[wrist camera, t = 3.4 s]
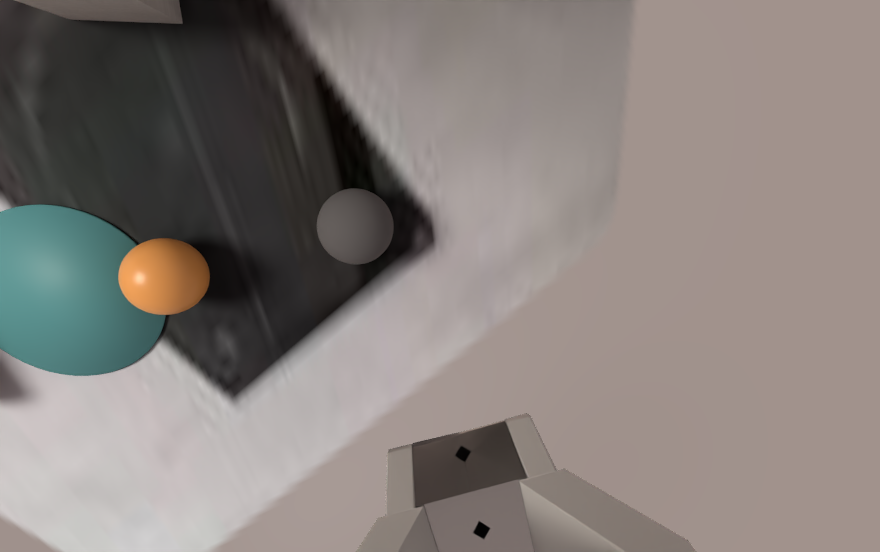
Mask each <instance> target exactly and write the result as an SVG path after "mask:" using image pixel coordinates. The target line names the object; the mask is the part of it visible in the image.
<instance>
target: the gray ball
mask: <svg viewBox="0 0 880 552" xmlns="http://www.w3.org/2000/svg"><path fill="white" fill-rule="evenodd" d="M393 229H394V225H393V218H392V215H391V212H390V210H389V208H388V207H387V205H386V204H385V203H384V201H383V200H382V199H380V198H379V197H378V196H377V195H375V194H374V193H372V192H369V191H367V190H363V189H355V188H354V189H346V190H342V191H340V192H338V193H336V194H334V195H333V196H331V197H330V198H329V199H328V200H327V201H326V202H325V203H324V204H323V206H322V208H321V210H320V212H319V215H318V219H317V232H318V236H319V239H320V241H321V244H322V245H323V247H324V248H325V250H326V251H327V252H328V253H329V254H330V255H331V256H333V257H334V258H336V259H337V260H340V261H342V262H345V263H349V264H364V263H368V262H371V261H373V260H375V259H376V258H378V257H379V256H380V255H382V254H383V253H384V251H385V250H386V249H387V248H388V246H389V244H390V242H391V239H392V236H393Z"/></svg>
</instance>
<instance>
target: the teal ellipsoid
mask: <svg viewBox="0 0 880 552" xmlns="http://www.w3.org/2000/svg"><path fill="white" fill-rule="evenodd" d="M136 246H137V244H136V243H135V242H134V241H133V240H132V239H131V238H130V237H128V236H127V235H126V234H125V233H124V232H122V231H121V230H119V229H118V228H116V227H115V226H113V225H112V224H110V223H108V222H106V221H104V220H102V219H100V218H99V217H96V216H94V215H91V214H89V213H86V212H83V211H80V210H76V209H73V208H69V207H63V206H57V205H43V204H40V205H26V206H20V207H15V208H11V209H8V210H5V211H2V212H0V348H1V349H2V350H4V351H5V352H7V353H8V354H10V355H11V356H13V357H15V358H17V359H19V360H21V361H22V362H24V363H27V364H29V365H32V366H34V367H36V368H40V369H43V370H46V371H49V372H54V373H59V374H65V375H75V376H89V375H99V374H104V373H109V372H113V371H116V370H119V369H122V368H124V367H126V366H128V365H130V364H132V363H134V362H135V361H137V360H138V359H140V358H141V357H142V356H143V355H144V354H145V353H146V352H148V351H149V350H150V348H151V347H152V346H153V345H154V344H155V342H156V341H157V339H158V337H159V335H160V334H161V331H162V329H163V326H164V322H165V317H166V315H157V314H152V313H148V312H145V311H143V310H141V309H139V308H137V307H135V306H134V305H133V304H131V303H130V302H129V301H128V300H127V298H126V297H125V296H124V294H123V293H122V290H121V288H120V285H119V280H118V274H119V268H120V265H121V263H122V261H123V259H124V257H125V256H126V255H127V254H128V253H129V252H130V251H131V250H132V249H133V248H134V247H136Z"/></svg>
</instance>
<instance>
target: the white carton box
mask: <svg viewBox="0 0 880 552" xmlns="http://www.w3.org/2000/svg"><path fill="white" fill-rule="evenodd" d="M15 1H18V2H21V3H24V4H27V5H30V6H32V7H35V8H38V9H41V10H44V11H47V12H50V13H53V14H55V15H58V16H61V17H64V18H67V19H70V20H94V21H120V22H147V23H173V24H183V22H182V16H181V10H180V4H179V0H15Z"/></svg>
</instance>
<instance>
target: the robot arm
mask: <svg viewBox="0 0 880 552" xmlns="http://www.w3.org/2000/svg"><path fill="white" fill-rule="evenodd" d="M356 552H696V551H695V549H694V548H693V547H692V545H691V544H690V542H689V541H688V540H686V539H685V538H683V537H681V536H680V535H678V534H676V533H674V532H673V531H671V530H669V529H667V528H666V527H664V526H662V525H661V524H659V523H657V522H656V521H654V520H651V519H650V518H649V517H647V516H645V515H643V514H642V513H640V512H638V511H637V510H635V509H633V508H631V507H630V506H628V505H626V504H624V503H623V502H621V501H619V500H618V499H616V498H614V497H612V496H611V495H609V494H607V493H605V492H604V491H602V490H600V489H599V488H597V487H595V486H593V485H592V484H590V483H588V482H587V481H585V480H583V479H581V478H580V477H578V476H576V475H575V474H573V473H571V472H569V471H568V470H566V469H561V470H556V468H555V466H554V463H553V461H552V459H551V457H550V455H549V453H548V451H547V449H546V447H545V445H544V443H543V441H542V439H541V437H540V435H539V433H538V431H537V429H536V427H535V425H534V423H533V420H532V418H531V416H530V415H529V414H527V413H526V414H522V415H518V416H515V417H511V418H508V419H505V421H499V422H496V423H492V424H488V425H485V426H481V427H477V428H473V429H470V430H466V431H463V432H458V433H454V434H450V435H446V436H441V437H437V438H433V439H429V440H424V441H420V442H416V443H413V444H409V445H405V446H401V447H397V448H393V449H389V451H388V453H387V470H386V514H385V516H384V517H380V518H378V519H377V520H376V522H375V523H374V525H373V526H372V528H371V530H370V531H369V533H368V534H367V536H366V537H365V539H364V540H363V542H362V543H361V545H360V546H359V548H358V549H357V551H356Z"/></svg>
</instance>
